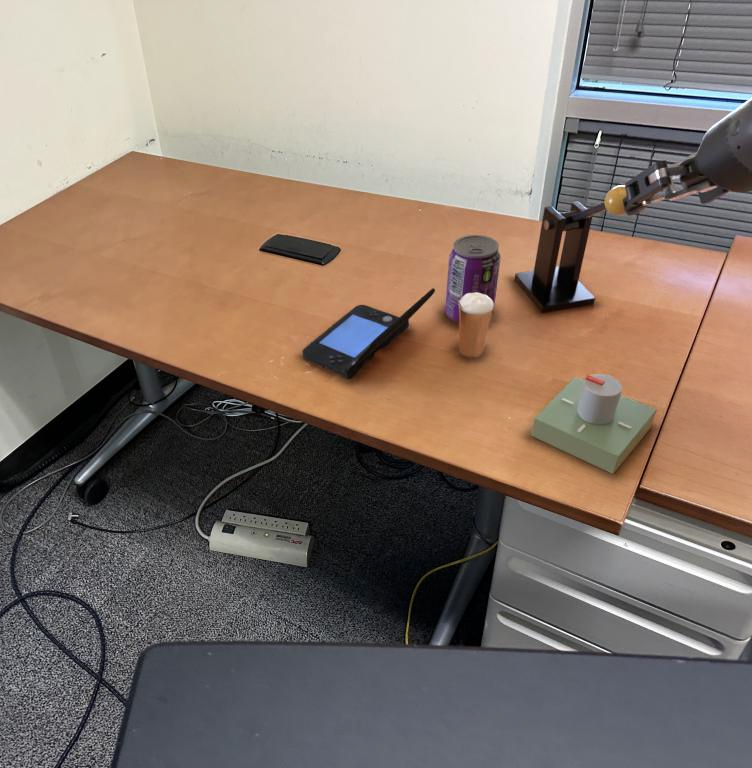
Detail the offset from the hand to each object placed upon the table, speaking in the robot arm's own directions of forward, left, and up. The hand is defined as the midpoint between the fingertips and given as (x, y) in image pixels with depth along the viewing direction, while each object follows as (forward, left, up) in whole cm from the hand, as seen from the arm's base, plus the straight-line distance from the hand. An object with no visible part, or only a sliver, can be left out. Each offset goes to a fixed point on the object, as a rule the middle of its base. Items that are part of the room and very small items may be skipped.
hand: (665, 201), depth 78 cm
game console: (+29, +18, -24) cm, 41 cm away
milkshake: (+17, +10, -24) cm, 31 cm away
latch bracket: (+15, -11, -23) cm, 30 cm away
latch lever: (+9, -7, -9) cm, 14 cm away
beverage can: (+22, +2, -24) cm, 32 cm away
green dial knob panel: (-3, +15, -23) cm, 28 cm away
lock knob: (-3, +15, -20) cm, 25 cm away
